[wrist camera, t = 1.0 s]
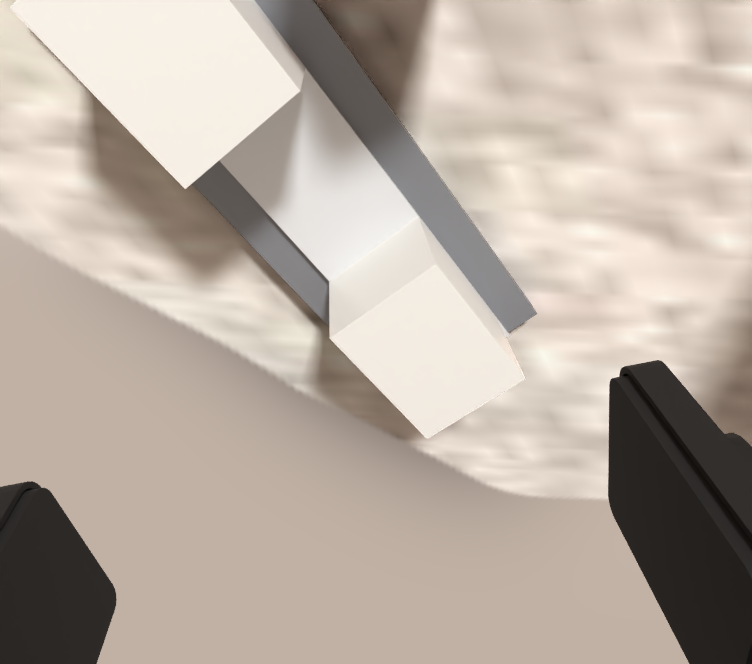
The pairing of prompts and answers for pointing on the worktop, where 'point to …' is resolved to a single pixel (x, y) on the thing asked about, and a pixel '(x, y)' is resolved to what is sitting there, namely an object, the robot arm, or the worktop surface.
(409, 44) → the worktop surface
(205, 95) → the mounted modules
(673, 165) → the worktop surface
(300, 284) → the rail board
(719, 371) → the worktop surface
